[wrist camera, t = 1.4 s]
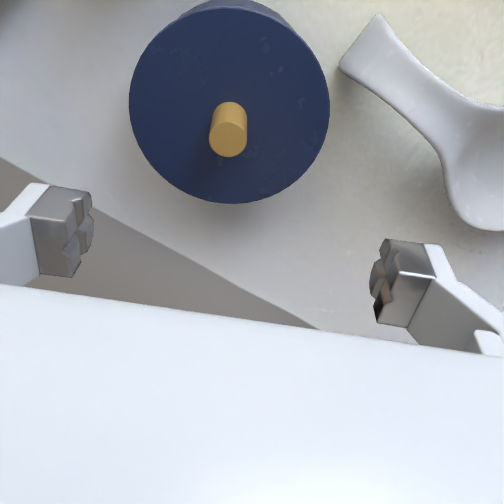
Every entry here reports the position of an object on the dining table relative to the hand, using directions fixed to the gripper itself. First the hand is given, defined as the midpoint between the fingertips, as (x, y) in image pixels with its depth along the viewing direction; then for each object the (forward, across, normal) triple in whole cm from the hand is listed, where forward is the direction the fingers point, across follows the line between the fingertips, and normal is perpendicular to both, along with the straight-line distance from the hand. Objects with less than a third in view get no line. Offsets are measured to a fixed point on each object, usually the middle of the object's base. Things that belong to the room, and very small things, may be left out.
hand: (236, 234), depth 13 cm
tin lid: (+21, +2, +5) cm, 21 cm away
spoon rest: (+29, -17, +5) cm, 34 cm away
